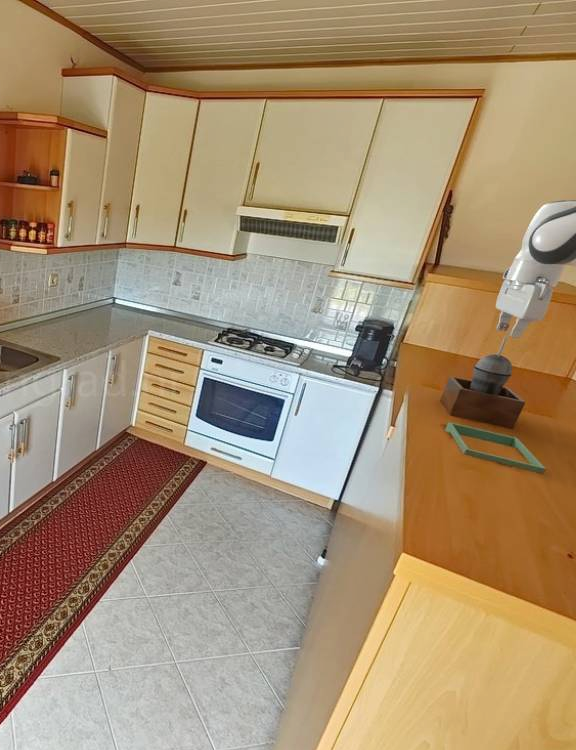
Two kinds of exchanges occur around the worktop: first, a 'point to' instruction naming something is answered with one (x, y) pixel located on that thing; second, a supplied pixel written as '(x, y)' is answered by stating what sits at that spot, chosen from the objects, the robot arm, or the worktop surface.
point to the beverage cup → (491, 373)
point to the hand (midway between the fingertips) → (507, 333)
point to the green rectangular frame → (494, 438)
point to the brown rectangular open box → (481, 403)
